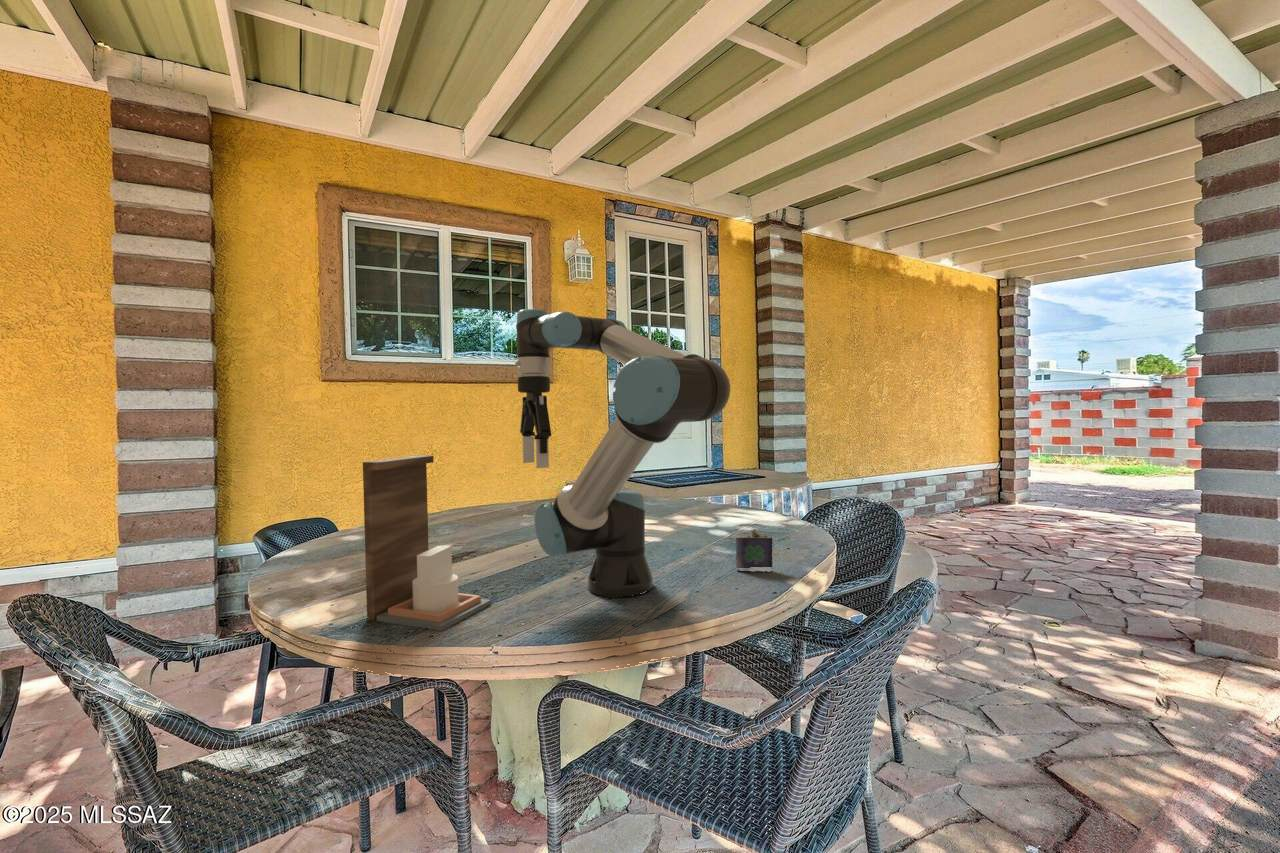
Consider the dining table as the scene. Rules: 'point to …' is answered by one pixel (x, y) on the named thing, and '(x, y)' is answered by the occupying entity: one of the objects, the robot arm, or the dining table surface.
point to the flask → (753, 550)
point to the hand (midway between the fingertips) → (535, 465)
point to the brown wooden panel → (393, 528)
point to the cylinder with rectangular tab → (435, 581)
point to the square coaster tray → (435, 621)
